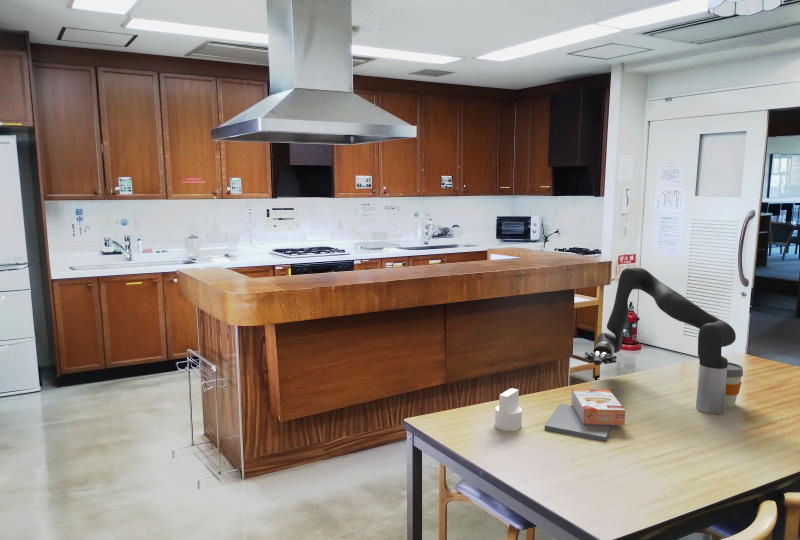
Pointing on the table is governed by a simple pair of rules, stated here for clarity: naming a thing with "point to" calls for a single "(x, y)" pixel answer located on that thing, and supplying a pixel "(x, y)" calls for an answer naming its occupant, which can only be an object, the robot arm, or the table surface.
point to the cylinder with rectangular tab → (508, 411)
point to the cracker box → (597, 407)
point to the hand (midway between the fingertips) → (597, 362)
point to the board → (575, 424)
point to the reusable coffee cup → (733, 383)
